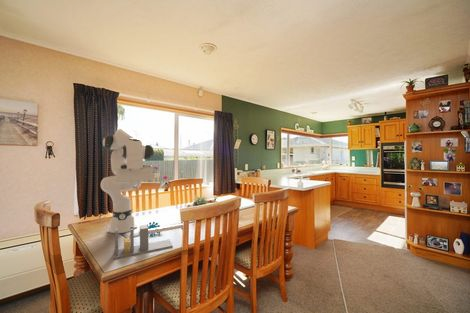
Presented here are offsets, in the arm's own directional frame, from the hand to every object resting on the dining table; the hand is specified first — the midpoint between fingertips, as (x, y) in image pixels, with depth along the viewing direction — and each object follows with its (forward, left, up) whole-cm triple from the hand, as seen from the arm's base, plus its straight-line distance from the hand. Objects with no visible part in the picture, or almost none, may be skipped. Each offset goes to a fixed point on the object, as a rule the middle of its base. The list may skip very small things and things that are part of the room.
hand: (135, 188), depth 125 cm
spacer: (+8, -5, -33) cm, 34 cm away
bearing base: (+8, +4, -34) cm, 35 cm away
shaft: (+8, +15, -27) cm, 32 cm away
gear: (-13, +11, -34) cm, 39 cm away
